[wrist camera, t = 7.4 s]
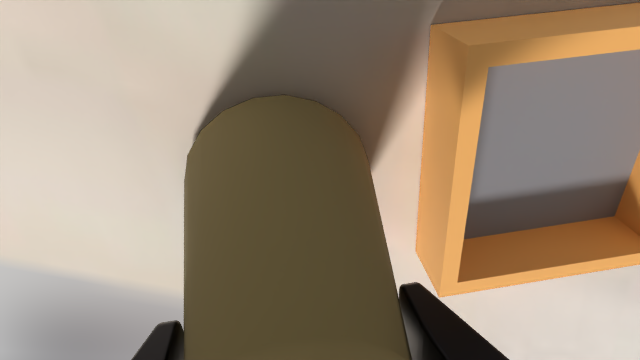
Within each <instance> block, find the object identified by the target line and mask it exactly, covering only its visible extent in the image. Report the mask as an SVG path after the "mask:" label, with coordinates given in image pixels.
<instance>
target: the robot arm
mask: <svg viewBox="0 0 640 360" xmlns="http://www.w3.org/2000/svg"><path fill="white" fill-rule="evenodd" d="M399 302H400V307H401V311H402V316H403V320H404V325H405V329H406V334H407V338H408V343H409V347H410V352H411V356H412V360H509V359H508V358H507V357H505V356H504V355H503V354H502V353H501V352H500V351H498V350H497V349H496V348H495V347H494V346H493V345H491V344H490V343H489V342H488V341H487V340H486V339H484V338H483V337H482V336H481V335H480V334H479V333H477V332H476V331H475V330H474V329H473V328H472V327H470V326H469V325H468V324H467V323H466V322H465V321H463V320H462V319H461V318H460V317H459V316H458V315H456V314H455V313H454V312H453V311H452V310H450V309H449V308H448V307H447V306H446V305H445V304H443V303H442V302H441V301H440V300H439V299H438V298H436V297H435V296H434V295H433V294H432V293H431V292H429V291H428V290H427V289H426V288H425V287H424V286H422V285H421V284H420V283H417V282H414V283H408V284H403V285H401V286H400V289H399ZM132 360H184V331H183V329H182V326H181V324H180V322H179V321H169V322H162V323H160V324H158V325H157V326H156V327H155V328H154V330H153V331H152V333H151V334H150V335H149V337H148V338H147V339H146V341H145V342H144V343H143V345H142V346H141V347H140V349H139V350H138V351H137V353H136V354H135V355H134V357H133V358H132Z"/></svg>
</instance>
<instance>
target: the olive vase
mask: <svg viewBox="0 0 640 360" xmlns="http://www.w3.org/2000/svg"><path fill="white" fill-rule="evenodd" d="M184 360H412V356H411V352H410V347H409V343H408V338H407V334H406V329H405V325H404V320H403V316H402V311H401V307H400V302H399V298H398V293H397V289H396V284H395V279H394V275H393V270H392V266H391V261H390V257H389V252H388V248H387V243H386V239H385V234H384V230H383V225H382V221H381V216H380V212H379V207H378V203H377V198H376V194H375V189H374V185H373V180H372V175H371V171H370V166H369V162H368V158H367V156H366V153H365V150H364V148H363V145H362V142H361V140H360V137H359V135H358V134H357V133H356V132H355V131H354V130H353V128H352V127H351V126H350V125H349V124H348V123H347V122H346V120H345V119H344V118H343V117H342V116H341V115H339V114H337V113H336V112H334V111H332V110H330V109H329V108H327V107H325V106H323V105H322V104H320V103H318V102H316V101H312V100H307V99H302V98H298V97H293V96H288V95H279V96H269V97H259V98H252V99H250V100H247V101H245V102H243V103H240V104H238V105H236V106H233V107H231V108H229V109H226V110H224V111H222V112H221V113H220V114H219V115H218V116H217V117H216V118H215V119H213V120H212V121H211V122H210V123H209V124H208V125H207V126H206V127H204V128H203V129H202V130H201V131H200V133H199V135H198V137H197V139H196V141H195V142H194V144H193V146H192V148H191V150H190V152H189V154H188V155H187V164H186V172H185V180H184Z"/></svg>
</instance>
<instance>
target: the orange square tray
mask: <svg viewBox="0 0 640 360" xmlns="http://www.w3.org/2000/svg"><path fill="white" fill-rule="evenodd" d="M416 253H417V255H418V257H419V259H420V261H421V263H422V265H423V267H424V269H425V271H426V273H427V274H428V276H429V278H430V280H431V282H432V284H433V286H434V288H435V290H436V292H437V294H438V296H439V297H445V296H451V295H457V294H464V293H470V292H476V291H482V290H488V289H494V288H500V287H506V286H512V285H518V284H524V283H530V282H536V281H542V280H548V279H554V278H560V277H566V276H572V275H578V274H584V273H591V272H597V271H603V270H609V269H615V268H621V267H627V266H633V265H639V264H640V3H630V4H621V5H612V6H602V7H593V8H584V9H574V10H565V11H556V12H546V13H537V14H528V15H518V16H509V17H500V18H490V19H481V20H472V21H462V22H453V23H444V24H434V25H431V29H430V44H429V59H428V74H427V88H426V103H425V118H424V133H423V148H422V163H421V177H420V192H419V207H418V222H417V237H416Z"/></svg>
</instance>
